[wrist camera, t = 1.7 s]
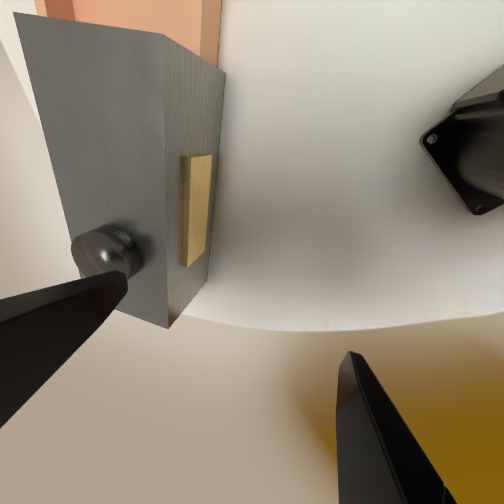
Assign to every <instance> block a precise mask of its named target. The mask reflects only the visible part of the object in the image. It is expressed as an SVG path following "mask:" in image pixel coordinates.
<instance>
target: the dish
mask: <svg viewBox="0 0 504 504" xmlns="http://www.w3.org/2000/svg"><path fill="white" fill-rule="evenodd" d="M34 1H35V6H36V10H37V15H38V16H44V17H51V18H58V19H65V20H72V21H79V22H86V23H93V24H100V25H107V26H114V27H120V28H127V29H134V30H141V31H148V32H155V33H162V34H164V35H166V36H167V37H169V38H171V39H172V40H174V41H175V42H177V43H179V44H180V45H182V46H183V47H185V48H187V49H188V50H190V51H191V52H193V53H195V54H196V55H198V56H199V57H201V58H203V59H204V60H206V61H207V62H209V63H211V64H212V65H214V66H215V67H217V59H218V45H219V32H220V18H221V5H222V0H34Z"/></svg>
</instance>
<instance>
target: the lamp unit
mask: <svg viewBox="0 0 504 504" xmlns="http://www.w3.org/2000/svg"><path fill="white" fill-rule="evenodd" d="M13 14H14V18H15V22H16V26H17V30H18V34H19V38H20V42H21V46H22V49H23V53H24V57H25V61H26V65H27V69H28V73H29V77H30V81H31V85H32V89H33V93H34V96H35V100H36V104H37V108H38V112H39V116H40V120H41V124H42V128H43V132H44V136H45V140H46V143H47V147H48V151H49V155H50V159H51V163H52V167H53V171H54V175H55V179H56V183H57V187H58V190H59V194H60V198H61V202H62V206H63V210H64V214H65V218H66V222H67V226H68V230H69V234H70V238H71V242H72V244H71V252H72V256H73V259H74V261H75V263H76V265H77V266H78V269H79V273H80V277H81V279H83V278H86V277H90V276H94V275H98V274H102V273H106V272H110V271H114V270H118V271H121V272H124V273H126V275H127V281H128V292H127V294H126V295H125V296H124V298H123V299H122V300H121V301H120V303H119V304H118V305H117V306H116V308H115V309H116V310H118V311H121V312H124V313H126V314H129V315H132V316H134V317H137V318H140V319H142V320H145V321H148V322H151V323H153V324H156V325H159V326H161V327H164V328H166V329H169V327H171V325H172V324H173V323H174V321H175V320H176V319H177V318H178V317H179V315H180V314H181V313H182V312H183V310H184V309H185V308H186V307H187V305H188V304H189V303H190V302H191V300H192V299H193V298H194V297H195V295H196V294H197V293H198V292H199V290H200V289H201V288H202V287H203V285H204V284H205V283H206V282H207V272H208V261H209V250H210V239H211V228H212V217H213V206H214V195H215V183H216V172H217V161H218V150H219V139H220V128H221V117H222V106H223V95H224V83H225V72H223V71H222V70H220V69H219V68H217V67H215V66H214V65H212V64H211V63H209V62H207V61H206V60H204V59H203V58H201V57H199V56H198V55H196V54H195V53H193V52H191V51H190V50H188V49H187V48H185V47H183V46H182V45H180V44H179V43H177V42H175V41H174V40H172V39H171V38H169V37H167V36H166V35H164V34H162V33H155V32H148V31H141V30H134V29H127V28H120V27H114V26H107V25H100V24H93V23H86V22H79V21H72V20H65V19H58V18H51V17H44V16H38V15H31V14H24V13H17V12H13Z"/></svg>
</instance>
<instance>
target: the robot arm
mask: <svg viewBox="0 0 504 504" xmlns="http://www.w3.org/2000/svg"><path fill="white" fill-rule="evenodd" d="M453 110H454V111H453V112H451V113H450V114H449V115H447V116H446V117H445V118H443V119H442V120H441V121H439V122H438V123H437V124H435V125H434V126H433V127H431V128H430V129H429V130H427V131H426V132H425V133H424V134H423V135H422V136H421V138H420V144H421V146H422V147H423V148H424V150H425V151H426V153H427V154H428V155H429V157H430V158H431V160H432V161H433V163H434V164H435V165H436V167H437V168H438V170H439V171H440V172H441V174H442V175H443V177H444V178H445V179H446V181H447V182H448V184H449V185H450V186H451V188H452V189H453V191H454V192H455V193H456V195H457V196H458V198H459V199H460V200H461V202H462V203H463V205H464V206H465V207H466V209H467V210H468V211H469V212H470V213H472V214H473V215H483V214H485V213H487V212H489V211H491V210H493V209H495V208H497V207H498V206H500V205H502V204H504V65H503V66H501V67H500V68H499V69H497V70H496V71H495V72H494V73H492V74H491V75H490V76H488V77H487V78H486V79H484V80H483V81H482V82H481V83H479V84H478V85H477V86H475V87H474V88H473V89H471V90H470V91H469V92H468V93H466V94H465V95H464V96H462V97H461V98H460V99H458V100H457V101H456V102H455V104H454V106H453ZM432 134H433V135H434V136H435V138H434V141H433V142H431V143H428V142H427V139H428V137H429V136H430V135H432ZM479 204H482V207H481V208H480V209H478V210H476V209H475V208H476V206H478V205H479ZM127 292H128V281H127V275H126V273H124V272H121V271H118V270H114V271H110V272H106V273H102V274H98V275H94V276H90V277H86V278H83V279H79V280H75V281H71V282H67V283H63V284H59V285H55V286H51V287H47V288H43V289H40V290H36V291H32V292H28V293H24V294H20V295H16V296H12V297H8V298H5V299H1V300H0V428H1V427H2V426H3V425H4V424H5V423H6V422H7V421H8V420H9V419H10V418H11V417H12V416H13V415H14V414H15V413H16V412H17V411H18V410H19V409H20V408H21V407H22V406H23V405H24V404H25V403H26V402H27V401H28V400H29V399H30V398H31V397H32V396H33V394H35V392H36V391H37V390H38V389H39V388H40V387H41V386H42V385H43V384H44V383H45V382H46V381H47V380H48V379H49V378H50V377H51V376H52V375H53V374H54V373H55V372H56V371H57V370H58V369H59V368H60V367H61V366H62V365H63V364H64V363H65V362H66V361H67V360H68V359H69V358H70V357H71V355H72V354H73V353H74V352H75V351H76V350H77V349H78V348H79V347H80V346H81V345H82V344H83V343H84V342H85V341H86V340H87V339H88V338H89V337H90V336H91V335H92V334H93V333H94V332H95V331H96V330H97V329H98V328H99V327H100V326H101V325H102V323H103V322H104V321H105V320H106V318H107V317H108V316H109V315H110V314H111V312H112V311H113V310H114V309H115V308H116V306H117V305H118V304H119V303H120V301H121V300H122V299H123V298H124V296H125V295H126V294H127ZM336 439H337V462H338V463H337V464H338V488H339V489H338V491H339V504H457V503H456V501H455V499H454V498H453V496H452V495H451V493H450V492H449V490H448V489H447V487H446V486H444V483H443V481H442V480H441V478H440V476H439V474H438V473H437V471H436V470H435V468H434V467H433V465H432V464H431V462H430V460H429V459H428V458H427V456H426V454H425V453H424V451H423V450H422V448H421V446H420V445H419V443H418V442H417V440H416V438H415V437H414V435H413V434H412V432H411V431H410V429H409V427H408V426H407V424H406V423H405V421H404V420H403V418H402V416H401V415H400V413H399V412H398V410H397V409H396V407H395V405H394V404H393V402H392V401H391V400H390V398H389V396H388V395H387V393H386V391H385V390H384V388H383V387H382V385H381V384H380V382H379V381H378V379H377V377H376V376H375V374H374V373H373V371H372V369H371V368H370V366H369V365H368V363H367V362H366V360H365V359H364V357H363V356H362V355H361V354H359V353H357V352H353V351H348V353H347V354H346V356H345V357H344V359H343V361H342V363H341V364H340V367H339V374H338V389H337V404H336Z"/></svg>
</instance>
